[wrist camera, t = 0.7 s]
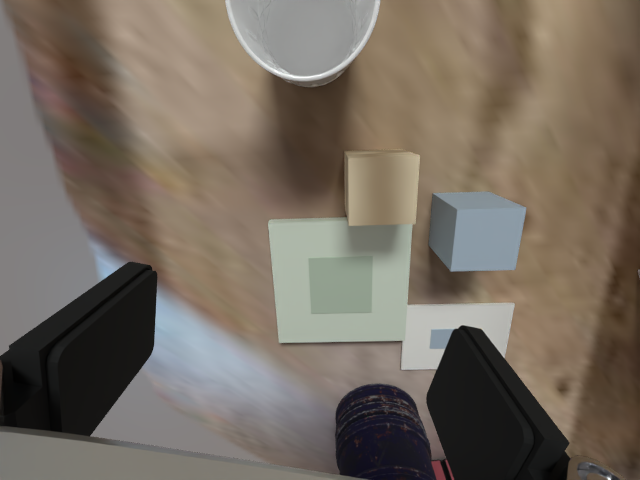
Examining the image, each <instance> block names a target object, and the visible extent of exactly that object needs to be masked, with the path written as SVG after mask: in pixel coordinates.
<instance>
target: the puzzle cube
mask: <svg viewBox="0 0 640 480" xmlns="http://www.w3.org/2000/svg"><path fill="white" fill-rule="evenodd" d="M431 463H432V466H433V469H434V472H435V476H436V479H437V480H454V477H453V475H452V472H451V469H450V467H449V464H448V461H447V459H444V460H443V462H442V461H440V460H433V461H431Z"/></svg>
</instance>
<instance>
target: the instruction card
mask: <svg viewBox="0 0 640 480" xmlns="http://www.w3.org/2000/svg"><path fill="white" fill-rule="evenodd" d="M514 306H515V304H514V303H467V304H419V305H407V317H406V334H405V341H402V351H401V370H423V369H437V368H438V366H439V363H440V361H441V358H442V356H443V353H444V351H445V348H446V346H447V343H448V341H449V338H450V336H451V333H452V331H453V330H454V329H458V328H459V327H460V326H461V325H465V326H470V327H475V328H480V329H482V330H483V331H484V333H485V334H486V335H487V337H488V338H489V339H490V340H491V342H492V343H493V344H494V346H495V347H496V348H497V349H498V351H499V352H500V353H501V355H502V356H503V357H504V359H505V353H506V348H507V343H508V337H509V332H510V327H511V321H512V316H513V311H514Z"/></svg>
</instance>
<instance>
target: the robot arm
mask: <svg viewBox="0 0 640 480" xmlns="http://www.w3.org/2000/svg"><path fill="white" fill-rule="evenodd" d="M156 293H157V272H156V271H152V267H151V266H150V265H146V264H140V263H135V262H128V263H127V264H125V265H124V266H122V267H121V268H119V269H118V270H117V271H115V272H114V273H112V274H111V275H109V276H108V277H107V278H105V279H104V280H102V281H101V282H99V283H98V284H97V285H95V286H94V287H92V288H91V289H89V290H88V291H87V292H85V293H84V294H82V295H81V296H80V297H78V298H77V299H75V300H74V301H72V302H71V303H70V304H68V305H67V306H65V307H64V308H62V309H61V310H59V311H58V312H57V313H55V314H54V315H52V316H51V317H49V318H48V319H47V320H45V321H44V322H42V323H41V324H40V325H38V326H37V327H36V328H34V329H33V330H31V331H29V332H28V333H27V334H25V335H24V336H22V337H21V338H20V339H18V340H17V341H15V342H14V343H12V344H11V345H10V346H9V350H8V351H7V352H5V353H4V354H3V355H1V356H0V480H368V479H362V478H355V477H349V476H343V475H337V474H331V473H324V472H318V471H312V470H306V469H300V468H293V467H287V466H281V465H275V464H268V463H262V462H256V461H250V460H243V459H237V458H230V457H223V456H217V455H211V454H204V453H198V452H191V451H184V450H179V449H172V448H166V447H159V446H153V445H145V444H140V443H133V442H126V441H120V440H112V439H105V438H98V437H90V435H91V434H92V433H93V431H94V430H95V429H96V427H97V426H98V425H99V423H100V422H101V421H102V419H103V418H104V417H105V415H106V414H107V412H108V411H109V410H110V409H111V407H112V406H113V405H114V403H115V402H116V401H117V400H118V398H119V397H120V396H121V394H122V393H123V391H124V390H125V389H126V388H127V386H128V385H129V384H130V382H131V381H132V380H133V378H134V377H135V376H136V374H137V373H138V372H139V370H140V369H141V368H142V366H143V365H144V364H145V362H146V361H147V360H148V358H149V357H150V355H151V353H152V351H153V347H154V334H155V314H156ZM427 406H428V409H429V412H430V415H431V417H432V420H433V423H434V426H435V428H436V431H437V434H438V437H439V439H440V442H441V445H442V447H443V450H444V453H445V456H446V458H447V461H448V464H449V467H450V469H451V472H452V475H453V477H454V480H626V479H625V478H624V477H622V476H621V475H620V474H619V473H617V472H616V471H614V470H613V469H611V468H610V467H608V466H607V465H605V464H603V463H601V462H599V461H597V460H595V459H592V458H589V457H586V456H578V455H577V456H574V457H571V459H570V458H569V456H568V455H567V453H566V452H565V450H566V448H567V446H568V445H569V442H568V440H567V439H566V438H565V436H564V435H563V434H562V432H561V431H560V430H559V429H558V427H557V426H556V425H555V423H554V422H553V421H552V419H551V418H550V417H549V416H548V414H547V413H546V412H545V410H544V409H543V408H542V407H541V405H540V404H539V403H538V401H537V400H536V399H535V397H534V396H533V395H532V394H531V392H530V391H529V390H528V388H527V387H526V386H525V384H524V383H523V382H522V381H521V379H520V378H519V377H518V375H517V374H516V373H515V372H514V370H513V369H512V368H511V366H510V365H509V364H508V362H507V361H506V360H505V359H504V357H503V356H502V355H501V353H500V352H499V351H498V349H497V348H496V347H495V346H494V344H493V343H492V342H491V340H490V339H489V338H488V337H487V335H486V334H485V333H484V331H483V330H482V329H480V328H475V327H470V326H465V325H461V326H460V327H459V328H458V329H454V330H453V331H452V333H451V336H450V338H449V341H448V343H447V346H446V348H445V351H444V353H443V356H442V358H441V361H440V363H439V366H438V368H437V371H436V373H435V376H434V378H433V381H432V383H431V385H430V388H429V390H428V393H427Z"/></svg>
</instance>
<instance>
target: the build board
mask: <svg viewBox="0 0 640 480" xmlns="http://www.w3.org/2000/svg"><path fill="white" fill-rule="evenodd" d="M268 228H269V239H270V249H271V260H272V271H273V282H274V293H275V303H276V314H277V325H278V336H279V343H302V342H359V341H405V334H406V317H407V301H408V285H409V269H410V253H411V237H412V224H398V225H363V226H349V225H348V220H347V217H336V218H302V219H270V221H269V222H268Z"/></svg>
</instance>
